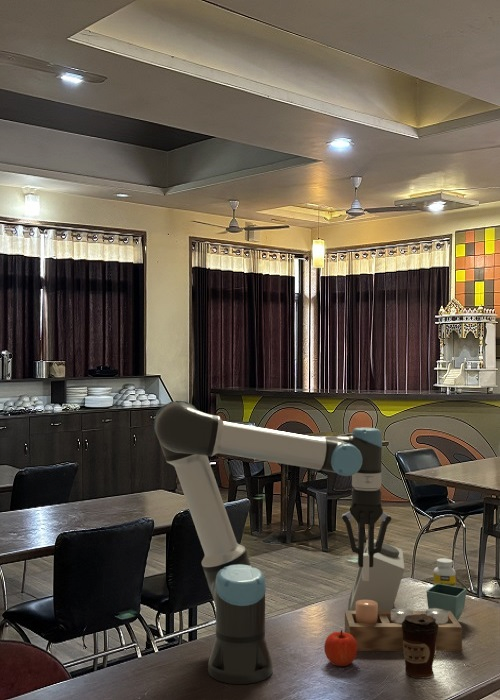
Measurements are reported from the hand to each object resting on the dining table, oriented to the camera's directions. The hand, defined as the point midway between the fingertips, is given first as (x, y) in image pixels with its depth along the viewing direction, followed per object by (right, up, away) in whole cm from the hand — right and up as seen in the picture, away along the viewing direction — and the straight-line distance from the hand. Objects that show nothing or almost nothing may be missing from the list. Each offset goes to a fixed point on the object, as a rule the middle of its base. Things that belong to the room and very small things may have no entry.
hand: (365, 579), depth 203 cm
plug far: (+18, -15, 0) cm, 24 cm away
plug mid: (+9, -15, 0) cm, 18 cm away
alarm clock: (+6, -16, +22) cm, 28 cm away
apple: (-8, -16, -14) cm, 23 cm away
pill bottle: (+29, -16, +35) cm, 48 cm away
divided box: (+9, -16, 0) cm, 19 cm away
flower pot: (+25, -16, +15) cm, 33 cm away
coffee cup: (+10, -16, -20) cm, 28 cm away
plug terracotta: (0, -13, 0) cm, 13 cm away
